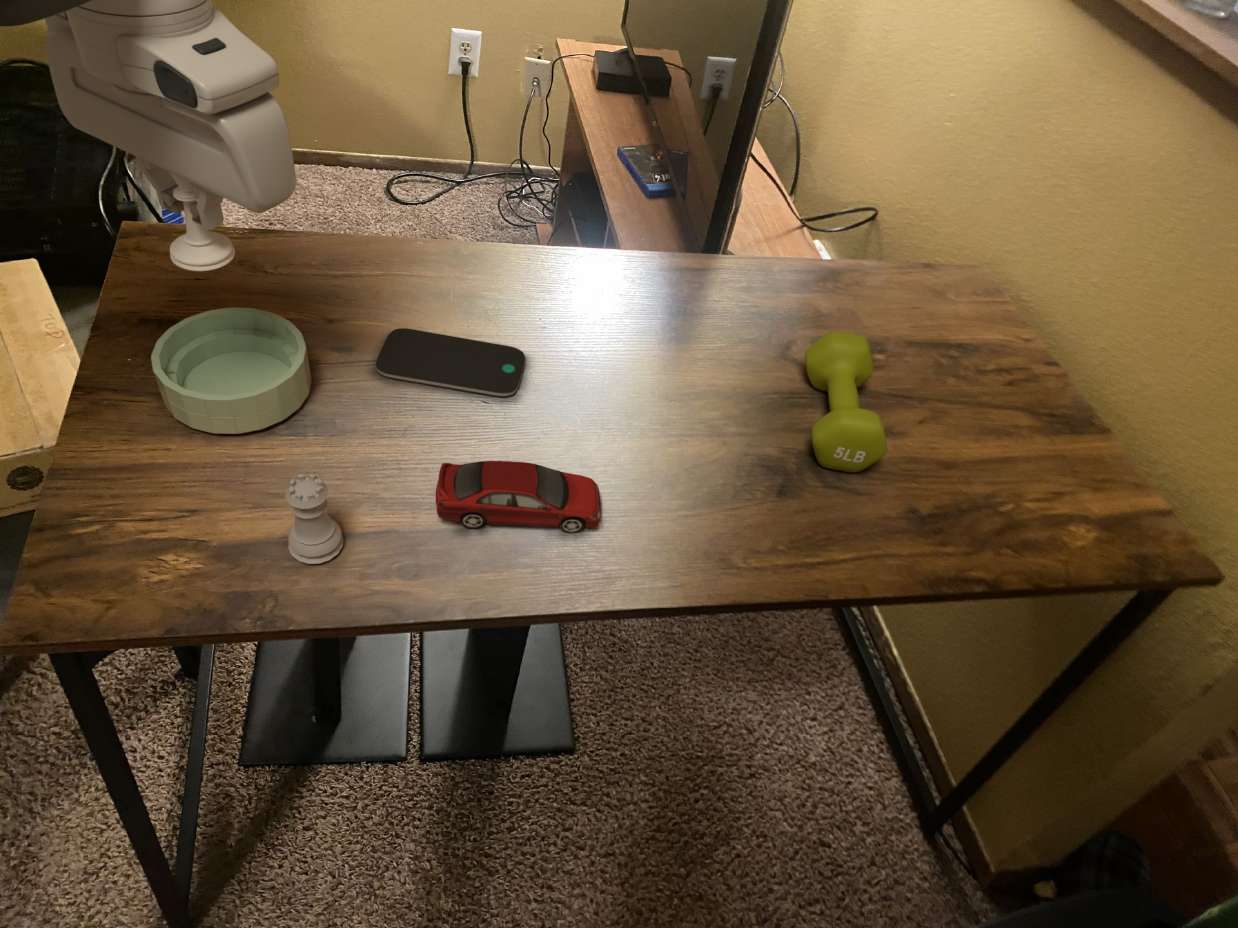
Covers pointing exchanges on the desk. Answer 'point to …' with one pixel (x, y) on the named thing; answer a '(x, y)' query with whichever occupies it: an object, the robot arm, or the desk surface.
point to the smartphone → (451, 362)
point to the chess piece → (197, 238)
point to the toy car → (516, 496)
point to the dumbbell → (844, 403)
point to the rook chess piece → (312, 522)
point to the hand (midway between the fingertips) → (193, 216)
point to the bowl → (232, 370)
